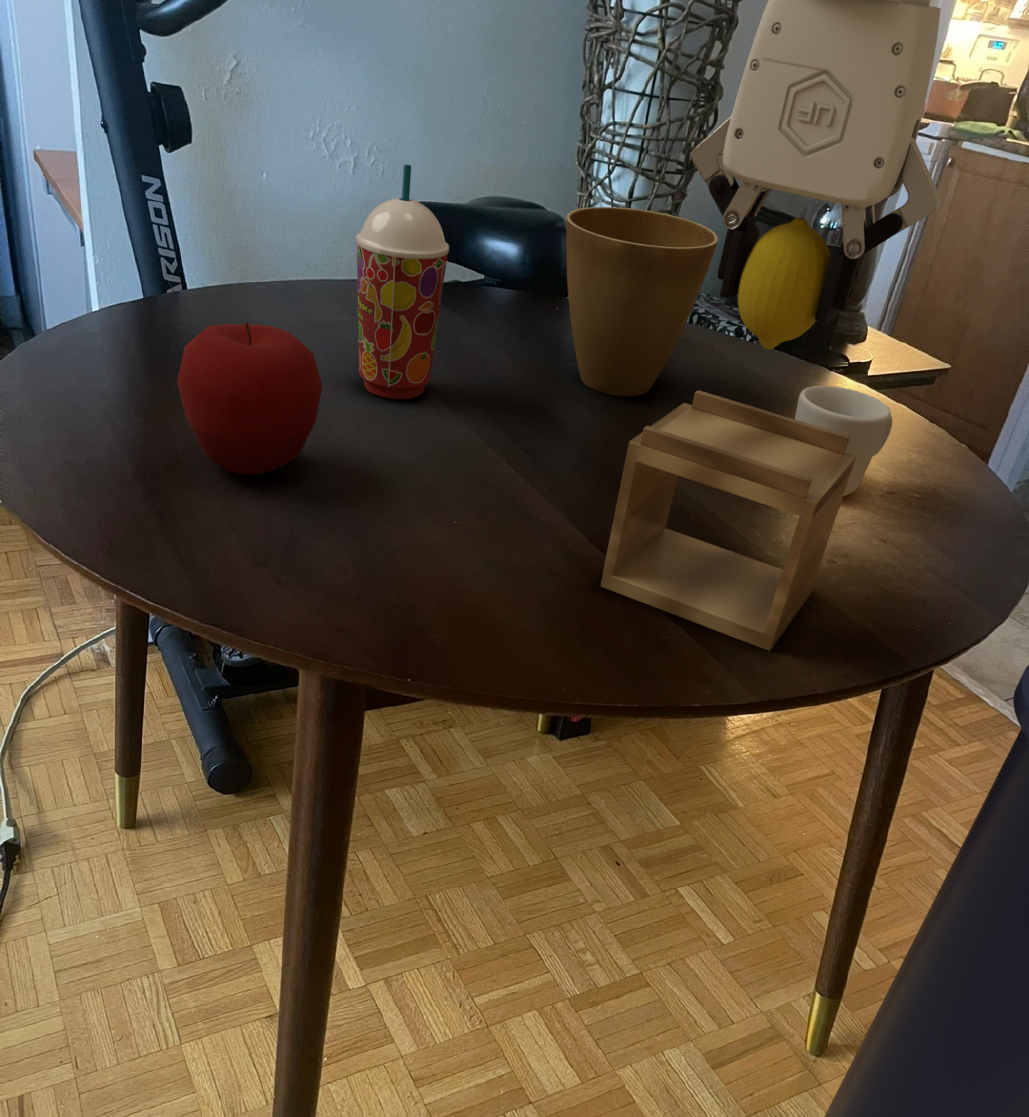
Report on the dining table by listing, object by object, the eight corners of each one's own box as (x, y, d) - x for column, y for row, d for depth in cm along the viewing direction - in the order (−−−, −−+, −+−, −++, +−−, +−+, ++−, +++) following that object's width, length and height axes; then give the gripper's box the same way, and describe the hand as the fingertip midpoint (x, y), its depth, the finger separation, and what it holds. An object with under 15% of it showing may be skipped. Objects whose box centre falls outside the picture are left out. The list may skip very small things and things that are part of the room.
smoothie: (352, 370, 107) (361, 150, 95) (436, 378, 108) (454, 162, 96) (348, 401, 100) (356, 168, 88) (437, 409, 101) (457, 180, 89)
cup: (839, 459, 103) (865, 379, 99) (901, 494, 98) (932, 411, 94) (758, 472, 98) (781, 388, 94) (819, 510, 93) (847, 423, 88)
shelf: (810, 594, 80) (861, 439, 73) (769, 651, 73) (822, 485, 66) (653, 538, 85) (687, 386, 78) (599, 586, 77) (632, 424, 70)
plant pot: (570, 349, 120) (593, 198, 111) (696, 381, 117) (732, 227, 108) (523, 387, 109) (545, 221, 100) (662, 423, 105) (699, 255, 96)
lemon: (712, 332, 71) (742, 203, 66) (789, 337, 72) (823, 211, 67) (743, 361, 66) (777, 225, 62) (824, 366, 68) (863, 233, 63)
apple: (252, 510, 80) (250, 357, 73) (151, 465, 84) (140, 315, 77) (347, 468, 88) (352, 326, 81) (250, 429, 92) (248, 290, 85)
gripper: (694, -61, 57) (632, 284, 68) (1021, -14, 51) (898, 356, 62) (740, -53, 63) (676, 265, 73) (1040, -10, 57) (925, 329, 67)
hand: (779, 303), depth 67 cm, fingers closed on lemon, 5 cm apart
